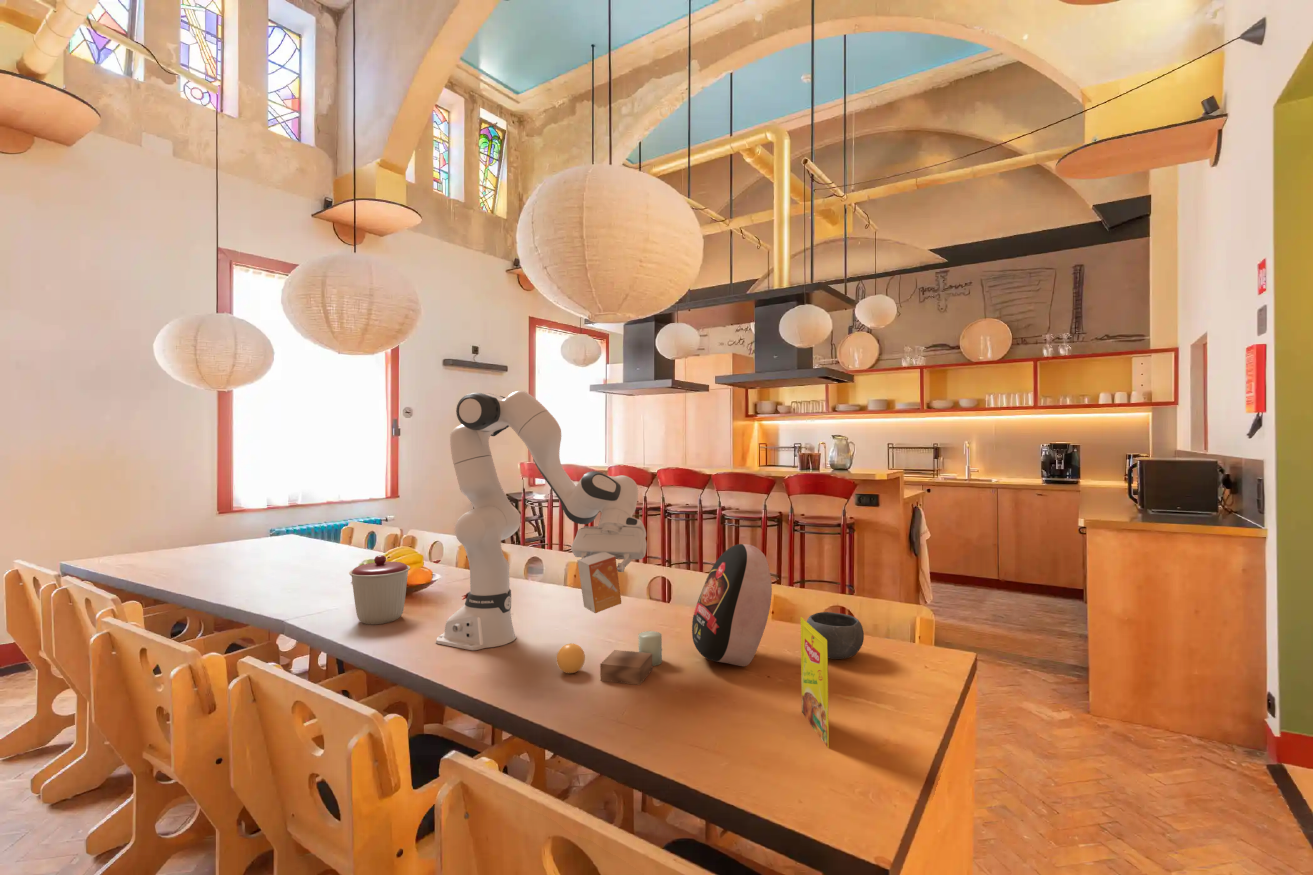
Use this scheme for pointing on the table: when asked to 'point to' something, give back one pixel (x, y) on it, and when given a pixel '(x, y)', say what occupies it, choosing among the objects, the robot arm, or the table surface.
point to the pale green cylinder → (651, 645)
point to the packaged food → (733, 606)
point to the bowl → (838, 633)
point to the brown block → (626, 667)
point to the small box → (599, 581)
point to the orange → (570, 658)
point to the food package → (815, 680)
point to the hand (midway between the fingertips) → (602, 570)
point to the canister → (379, 590)
